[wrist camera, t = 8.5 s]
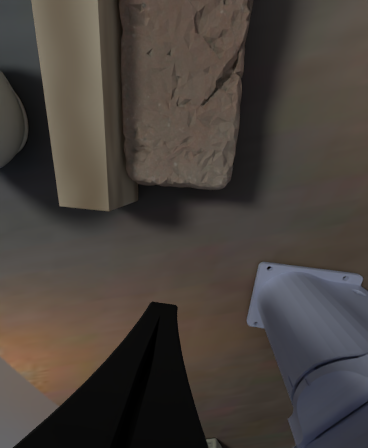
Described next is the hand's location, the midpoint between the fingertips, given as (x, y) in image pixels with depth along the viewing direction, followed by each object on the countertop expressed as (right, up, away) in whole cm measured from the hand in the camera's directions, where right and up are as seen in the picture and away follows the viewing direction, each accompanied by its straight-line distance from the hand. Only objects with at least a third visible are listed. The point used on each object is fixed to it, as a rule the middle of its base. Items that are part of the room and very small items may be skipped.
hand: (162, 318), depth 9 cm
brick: (+2, +17, +6) cm, 18 cm away
